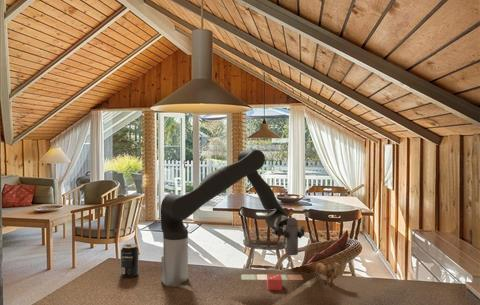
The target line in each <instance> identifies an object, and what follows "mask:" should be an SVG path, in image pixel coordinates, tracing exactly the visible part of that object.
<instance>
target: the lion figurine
mask: <svg viewBox="0 0 480 305" xmlns="http://www.w3.org/2000/svg"><path fill="white" fill-rule="evenodd" d="M343 271H344V268H343V267H341V265H340V263H338V262H333V263H330V264H327V265H325V264H324V263H322V262H318V263H316V265H315V271H314V272H313V275H315V281H316V282H320V279H321V276H320V275H322V276H324V277H325V279H326V287H327V288H330V287H331V286H334V285H335V282H333V281H334V280H335V279H336V278H337V277H339V276H340V275H341V274H342V272H343Z"/></svg>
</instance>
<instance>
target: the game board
mask: <svg viewBox="0 0 480 305" xmlns="http://www.w3.org/2000/svg"><path fill="white" fill-rule="evenodd" d="M267 275H268V274H241V275H240V278H241V280H242V281H247V280H248V281H261V280H262V281H267ZM280 275H281V277H282V281H304V278H303V276H302V274H280ZM311 287H312V283H311V281H310V280H307V281H305V282H304V283H303V284H301V285H300V286H299V288H311Z"/></svg>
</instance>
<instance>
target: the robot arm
mask: <svg viewBox="0 0 480 305" xmlns="http://www.w3.org/2000/svg"><path fill="white" fill-rule="evenodd" d="M265 161H266V156H265V153H264V152H262V151H261V150H259V149H246V150H245V149H244V150H241V151H240V152H239V153H238V154H237V161H235V162H233V163H229V164H227V165H224V166H221V167H219V168H217V169H215V170H213V171H212V172H210V173H208V174H207V175H205V176H204V177H203V178H202V180H201V182H199V185H197V187H196V188H194V189H193V190H191V191H189V192H187V193H184V194H182V195H180V194H175V193H174V194H173V193H172V194H171V193H170V194H168V195H166V196H165V197H164V198H163V199H162V201H161V204H160V226H161V227H160V229H161V231H162V237H163V238H162V240H163V242H162V243H163V244H162V245H163V246H162V250H163V251H162V256H161V263H160V264H161V266H160V267H161V276H160V277H161V279H160V280H161V283H163V285H164V286H167V287H173V288H174V287H181V286H184V285H186V284H185V283H184V282H186V281H188V278H189V277H188V276H189V273H188V272H189V231H188V230H189V229H188V228H187V227H186V225H185V224H184V222H183V221H184V220H186V219H187V218H189V217H190V216H192V215H193V214H194V213H195V212H196V211H197V210H199V209H200V208H201V207H202V206H204V205H205V204H206V203H208V202H210V201H211V200H213V199H214V198H215V197H217V196H218V195H220V194H222V193H223V192H225V191H226V190H228V189H229V188H231V187H232V186H234V185H235V184H237V183H238V182H239V181H240V180H242V179H244V178H245V177H246V178H247V180H248V181H249V182H250V184H251V186H252V187H253V189H254V191H255V192H256V195H257V196H258V198H259V200H260V203H261V205H262V206H263V208H264V210H265V211H271V210H273V211H271V212H269V213H267V214H266V215H265V217H264V218H265V223H266V225H267V226H268V227H269V228H270V229H271V234H272V235H276V236H277V237H281V236H282V237H284V238H286V239H287V238H289V233H288V232H287V221H288V219H289V218H290V217H289V215H288V212H286V210H285V209H284V208H283V207H282V206H281V204H280V203H279V202H278V199H277V198H276V197H277V196H276V195H275V193H274V191H273V189H272V187H271V186H270V185H269V184H268V182H266V181H265V180H264V179H263V177H262V176H261V175H260V174H259V171H258V170H260V169H261V168H263V166H264V165H265V163H266V162H265ZM305 229H306V227H305V226H303V225H301V226H300V227H298V239H302V238H303V236H305V233H306V232H305Z"/></svg>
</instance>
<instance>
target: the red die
mask: <svg viewBox="0 0 480 305" xmlns="http://www.w3.org/2000/svg"><path fill="white" fill-rule="evenodd" d="M266 275H267V280H266V288H267V291H283V280H282V277H281V275H282V274H266Z"/></svg>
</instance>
